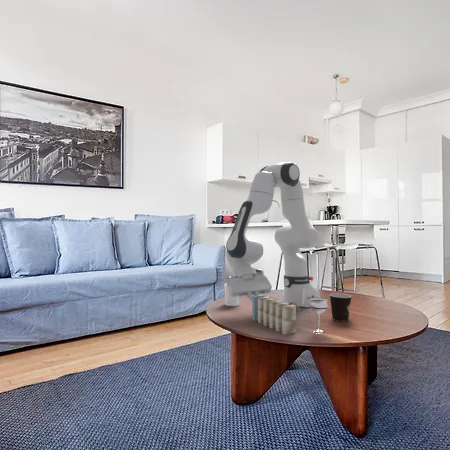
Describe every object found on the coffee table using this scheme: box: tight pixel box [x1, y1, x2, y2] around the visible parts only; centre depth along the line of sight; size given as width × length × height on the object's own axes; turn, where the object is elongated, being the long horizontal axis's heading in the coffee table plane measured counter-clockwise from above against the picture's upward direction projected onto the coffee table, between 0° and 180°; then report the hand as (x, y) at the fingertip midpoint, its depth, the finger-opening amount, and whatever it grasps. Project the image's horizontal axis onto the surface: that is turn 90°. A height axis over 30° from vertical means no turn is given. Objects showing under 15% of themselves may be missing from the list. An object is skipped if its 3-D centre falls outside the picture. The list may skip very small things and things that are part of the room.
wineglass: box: [309, 297, 329, 333], centre depth 130 cm, size 7×7×12 cm
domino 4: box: [268, 300, 282, 330], centre depth 135 cm, size 5×2×10 cm, turn 118°
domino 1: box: [251, 294, 266, 322], centre depth 145 cm, size 5×2×10 cm, turn 118°
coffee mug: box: [329, 293, 352, 321], centre depth 148 cm, size 12×9×10 cm
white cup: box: [223, 283, 240, 307], centre depth 171 cm, size 8×8×10 cm
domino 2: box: [257, 296, 271, 324], centre depth 142 cm, size 5×2×10 cm, turn 118°
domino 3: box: [262, 298, 277, 327], centre depth 138 cm, size 5×2×10 cm, turn 118°
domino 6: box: [281, 305, 297, 335], centre depth 128 cm, size 5×2×10 cm, turn 118°
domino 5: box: [274, 303, 289, 332], centre depth 131 cm, size 5×2×10 cm, turn 118°
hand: (256, 302), depth 147 cm, fingers closed
